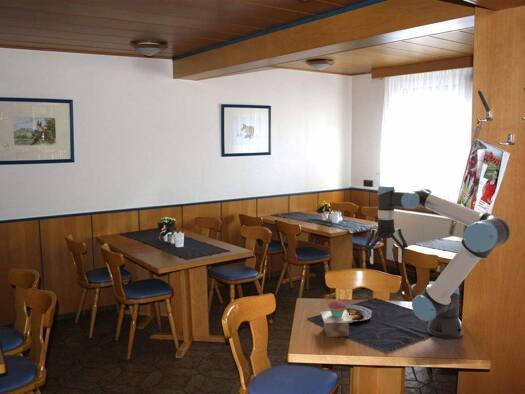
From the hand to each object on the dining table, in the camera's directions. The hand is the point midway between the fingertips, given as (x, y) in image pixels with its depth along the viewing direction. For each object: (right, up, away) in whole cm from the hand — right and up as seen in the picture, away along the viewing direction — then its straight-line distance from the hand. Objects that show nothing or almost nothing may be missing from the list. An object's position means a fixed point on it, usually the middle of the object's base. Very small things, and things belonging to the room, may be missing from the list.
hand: (385, 262), depth 247 cm
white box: (-24, -32, -2) cm, 40 cm away
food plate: (-15, -30, +19) cm, 38 cm away
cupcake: (-23, -25, -3) cm, 34 cm away
